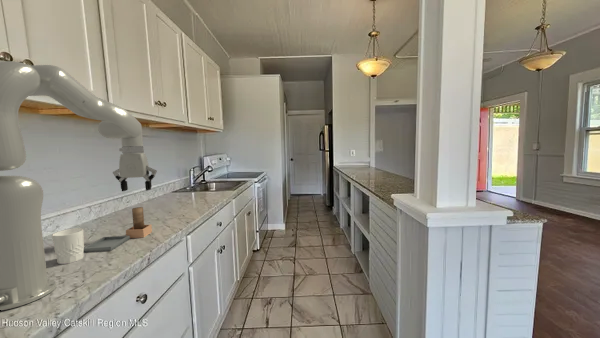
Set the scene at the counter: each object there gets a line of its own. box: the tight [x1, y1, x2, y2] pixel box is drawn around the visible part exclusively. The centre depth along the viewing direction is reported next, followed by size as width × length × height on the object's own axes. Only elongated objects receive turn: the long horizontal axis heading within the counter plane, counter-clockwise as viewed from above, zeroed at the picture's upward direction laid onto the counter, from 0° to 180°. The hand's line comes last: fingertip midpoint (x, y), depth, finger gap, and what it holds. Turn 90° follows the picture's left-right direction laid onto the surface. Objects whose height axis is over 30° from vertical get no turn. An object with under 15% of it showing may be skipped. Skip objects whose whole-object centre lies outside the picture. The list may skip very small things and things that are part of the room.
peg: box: [131, 206, 145, 230], centre depth 108 cm, size 4×4×12 cm
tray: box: [84, 235, 131, 253], centre depth 97 cm, size 12×10×2 cm
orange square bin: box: [125, 224, 153, 239], centre depth 108 cm, size 7×7×4 cm
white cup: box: [51, 228, 85, 265], centre depth 85 cm, size 8×8×10 cm
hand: (136, 190), depth 107 cm, fingers open, 9 cm apart
